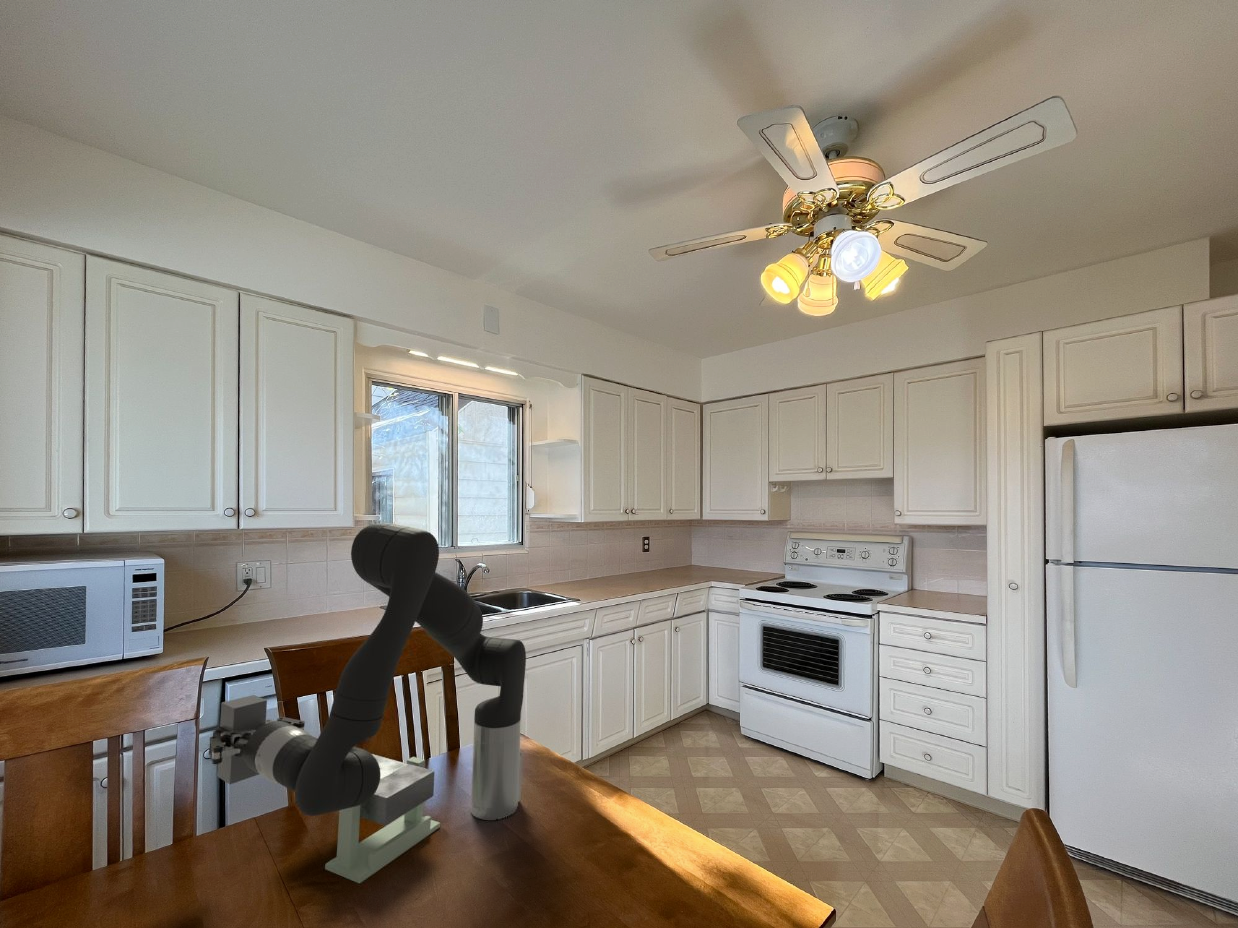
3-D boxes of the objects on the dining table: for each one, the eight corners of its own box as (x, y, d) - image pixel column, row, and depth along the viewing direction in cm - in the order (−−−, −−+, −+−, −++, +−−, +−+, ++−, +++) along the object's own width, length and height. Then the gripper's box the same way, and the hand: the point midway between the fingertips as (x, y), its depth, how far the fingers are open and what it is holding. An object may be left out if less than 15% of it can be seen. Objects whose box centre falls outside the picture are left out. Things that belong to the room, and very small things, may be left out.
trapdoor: (381, 827, 93) (383, 799, 93) (299, 798, 101) (301, 773, 102) (436, 794, 104) (437, 769, 104) (357, 770, 112) (359, 747, 113)
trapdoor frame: (359, 883, 90) (363, 805, 91) (325, 868, 93) (329, 794, 94) (439, 826, 106) (442, 761, 107) (408, 816, 110) (410, 753, 111)
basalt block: (217, 776, 95) (221, 702, 96) (250, 765, 99) (253, 694, 100) (229, 784, 92) (234, 708, 93) (263, 772, 96) (266, 700, 97)
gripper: (329, 713, 94) (281, 694, 104) (232, 742, 83) (187, 717, 92) (327, 760, 94) (278, 736, 103) (229, 796, 82) (184, 765, 92)
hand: (236, 728), depth 98 cm, fingers closed on basalt block, 5 cm apart
